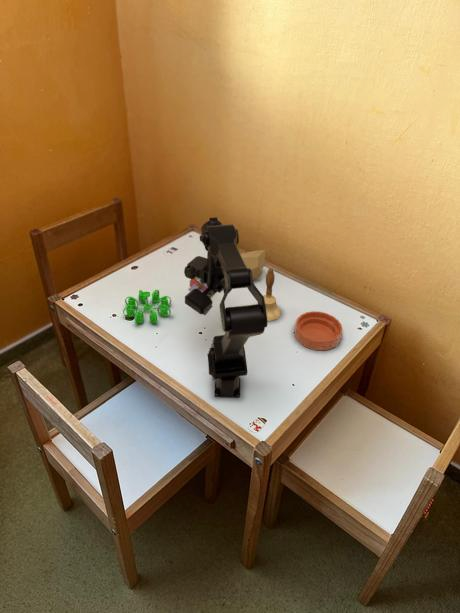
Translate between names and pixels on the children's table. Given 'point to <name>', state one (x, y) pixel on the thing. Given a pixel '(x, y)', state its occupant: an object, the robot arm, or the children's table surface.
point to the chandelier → (147, 306)
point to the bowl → (318, 330)
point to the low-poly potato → (254, 262)
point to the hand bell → (271, 298)
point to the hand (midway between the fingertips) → (214, 303)
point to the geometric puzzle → (197, 285)
